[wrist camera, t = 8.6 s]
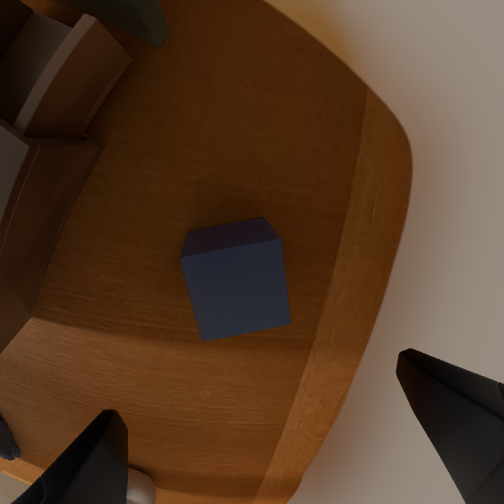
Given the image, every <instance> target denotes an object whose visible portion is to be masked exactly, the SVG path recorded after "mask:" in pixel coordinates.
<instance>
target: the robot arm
mask: <svg viewBox="0 0 504 504" xmlns="http://www.w3.org/2000/svg"><path fill="white" fill-rule="evenodd" d="M396 375H397V378H398V380H399V382H400V384H401V386H402V388H403V391H404V392H405V395H406V397H407V399H408V401H409V404H410V406H411V408H412V410H413V412H414V414H415V415H416V417H417V419H418V420H419V422H420V424H421V425H422V427H423V429H424V431H425V432H426V434H427V436H428V437H429V439H430V441H431V442H432V444H433V446H434V447H435V449H436V451H437V452H438V454H439V456H440V458H441V460H442V461H443V463H444V465H445V467H446V468H447V470H448V472H449V474H450V476H451V477H452V479H453V481H454V483H455V484H456V486H457V488H458V490H459V492H460V494H461V496H462V498H463V499H464V501H465V503H466V504H504V384H503V383H500V382H497V381H494V380H492V379H489V378H487V377H484V376H481V375H479V374H476V373H473V372H471V371H468V370H465V369H463V368H460V367H458V366H455V365H452V364H450V363H447V362H445V361H442V360H440V359H437V358H435V357H432V356H429V355H427V354H425V353H422V352H420V351H417V350H415V349H412V348H409V349H407V350H404V351H401V352H400V353H399V355H398V361H397V368H396ZM127 485H128V429H127V426H126V424H125V423H124V421H123V420H122V418H121V416H120V415H119V413H118V412H117V411H116V410H114V409H107V410H103V411H102V412H101V413H100V414H99V415H98V416H97V417H96V418H95V419H94V420H93V421H92V422H91V423H90V424H89V425H88V426H87V428H86V429H85V430H84V431H83V432H82V433H81V434H80V435H79V436H78V437H77V438H76V439H75V440H74V441H73V442H72V443H71V444H70V445H69V446H68V448H67V449H66V450H65V451H64V452H63V453H62V454H61V455H60V456H59V457H58V458H57V459H56V460H55V461H54V462H53V463H52V464H51V465H50V466H49V467H48V469H47V470H46V471H45V472H44V473H43V474H42V475H41V477H39V478H38V479H37V480H36V481H35V482H34V483H33V484H32V485H31V486H30V487H29V488H28V489H27V490H26V491H25V492H24V493H23V494H22V495H21V496H20V497H18V498H17V499H16V500H15V501H14V502H12V503H11V504H126V501H127Z"/></svg>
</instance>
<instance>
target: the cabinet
mask: <svg viewBox="0 0 504 504" xmlns="http://www.w3.org/2000/svg"><path fill="white" fill-rule="evenodd" d="M104 147H105V146H104V145H102V144H101V143H99V142H98V141H96V140H95V139H93V138H91V137H90V136H88V135H87V134H85V133H83V135H82V137H81V138H80V140H75V139H49V138H27V137H26V136H25V135H23V134H22V133H20V132H19V131H18V130H16V129H15V128H13V127H12V126H11V125H9V124H8V123H7V122H5V121H4V120H2V119H1V118H0V354H1V353H2V351H3V350H4V349H5V348H6V346H7V345H8V344H9V343H10V341H11V340H12V339H13V338H14V337H15V335H16V334H17V333H18V332H19V331H20V330H21V328H22V327H23V326H24V325H25V324H26V323H27V322H28V320H29V319H30V318H31V316H32V313H33V309H34V306H35V303H36V299H37V296H38V293H39V290H40V287H41V284H42V281H43V278H44V275H45V273H46V270H47V267H48V264H49V262H50V259H51V256H52V254H53V251H54V249H55V246H56V244H57V241H58V239H59V237H60V234H61V232H62V230H63V227H64V225H65V223H66V221H67V218H68V216H69V214H70V212H71V210H72V208H73V206H74V203H75V201H76V199H77V197H78V195H79V193H80V191H81V189H82V187H83V185H84V183H85V182H86V180H87V178H88V176H89V174H90V172H91V170H92V168H93V167H94V165H95V163H96V161H97V160H98V158H99V156H100V154H101V153H102V151H103V149H104Z"/></svg>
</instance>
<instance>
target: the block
mask: <svg viewBox="0 0 504 504" xmlns="http://www.w3.org/2000/svg"><path fill="white" fill-rule="evenodd" d="M180 261H181V265H182V269H183V273H184V277H185V281H186V285H187V289H188V292H189V296H190V300H191V303H192V307H193V311H194V314H195V318H196V321H197V325H198V328H199V332H200V335H201V338H202V341H207V340H213V339H218V338H224V337H229V336H235V335H240V334H245V333H250V332H255V331H260V330H265V329H270V328H274V327H279V326H284V325H288V324H291V318H290V310H289V301H288V292H287V284H286V276H285V268H284V260H283V252H282V244H281V238H280V237H279V236H278V235H277V233H276V232H275V231H274V230H273V228H272V227H271V226H270V225H269V223H268V222H267V221H266V220H265V218H264V217H262V218H257V219H251V220H246V221H240V222H235V223H229V224H224V225H219V226H214V227H208V228H203V229H198V230H193V231H188V232H187V234H186V238H185V241H184V245H183V248H182V252H181V255H180Z"/></svg>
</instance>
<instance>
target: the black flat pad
mask: <svg viewBox="0 0 504 504" xmlns="http://www.w3.org/2000/svg"><path fill="white" fill-rule="evenodd" d="M20 455H21V453H20V450H19V447H18V446H17V445H16V444H15V442H14V441H13V437H12V434H11V432H10V430H9V428H8V426H7V425H6V423H5V421H4V420H3V418H2V417H1V416H0V457H2V458H4V459H8V460H14V459H15V457H20Z"/></svg>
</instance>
